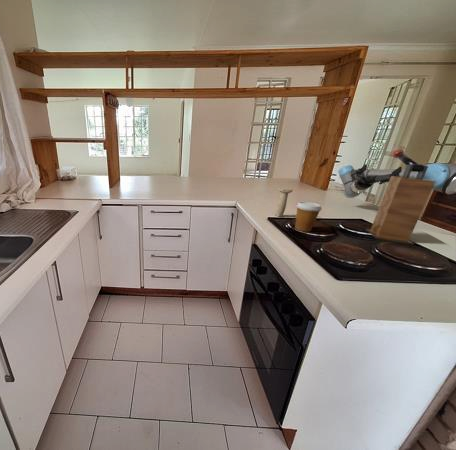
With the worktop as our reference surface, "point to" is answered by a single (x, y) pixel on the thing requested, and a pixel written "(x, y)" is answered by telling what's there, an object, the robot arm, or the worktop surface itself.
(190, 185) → the worktop surface
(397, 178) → the lever post
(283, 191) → the mushroom
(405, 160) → the lever
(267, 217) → the worktop surface
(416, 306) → the worktop surface
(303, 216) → the disposable coffee cup
